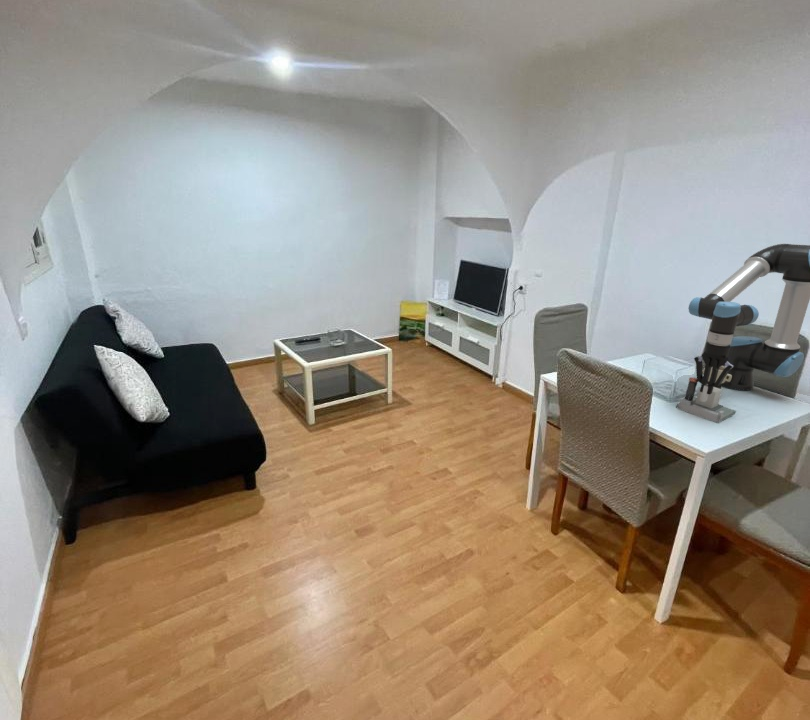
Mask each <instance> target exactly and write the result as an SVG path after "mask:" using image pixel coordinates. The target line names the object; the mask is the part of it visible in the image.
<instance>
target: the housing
mask: <svg viewBox="0 0 810 720" xmlns="http://www.w3.org/2000/svg"><path fill="white" fill-rule="evenodd" d="M700 389H701V386H699V387H698V391H697V396H696V402H695V403H697V404H700V405H702V406H705V407H708V408H713V407H715V406H717V405H718V404H719V405H720V403H719V402H720V400H721V395H722V393H723V389H722V388H721V389H719V388H716V387H713V391H712V393H711V394H710V395H708V399H707V401H705V402H702V401H700V400H701V396H702V392H700Z"/></svg>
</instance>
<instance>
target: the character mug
mask: <svg viewBox="0 0 810 720" xmlns="http://www.w3.org/2000/svg"><path fill="white" fill-rule="evenodd" d="M712 368H713V367H712ZM712 368H711V371H710V375H709V379H708V383H707V384H709V381H710V377H711V373H712ZM724 369H725V367H724V366H721V367H720V368H719V370H718V374H717V378H716V381H717V379H718V378H719V376H720V374H721V373H722V371H723V370H724ZM704 370H705V367H704V368H703V375H704ZM727 376H729V378H728V379H726V377H727ZM731 378H732V375H730V374H727V375H726V376H725V378H724V380H723V381H722V383H724V382H725V381H728V382H730V381H731ZM716 381H715V382H716ZM716 388H719V389H722V386H721V384H720V385H719V386H717V387H716Z"/></svg>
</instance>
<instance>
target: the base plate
mask: <svg viewBox="0 0 810 720" xmlns="http://www.w3.org/2000/svg"><path fill="white" fill-rule="evenodd" d="M683 398H684V397H681V398H679V402H678V403H676V405H675V408H677V409H678V410H680V411H684V412H686V413H690V414H692V415H694V416H697V417H700V418H703V419H704V420H708V421H711V422H714V423H716V424H719V423H721V422H723V421H725V420H727V419H729V418H731V417H732V416H734V415H735V414H736V413H737V410H735V409H732V408H729V407H727V406H724V405H722V404H720V403H719V404H718V405H717V406H715V407H713V408H708V407H705V406H702V405H700V404H697V403H695V402H696V398H697V396H694V397H693V399H694V400H695V401H694V404H692V405H687V404H684V403H682V399H683Z"/></svg>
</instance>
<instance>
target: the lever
mask: <svg viewBox="0 0 810 720" xmlns="http://www.w3.org/2000/svg"><path fill="white" fill-rule="evenodd" d="M697 386H698V382H697V377H693V376H692V377H689V378H688V385H687V388H686V392H685V396H684V397H682V398H683V399H682V403H684V404H687V405H692V404H694V401H695V400H694V399H693V397H695V392H696V390H697Z"/></svg>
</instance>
